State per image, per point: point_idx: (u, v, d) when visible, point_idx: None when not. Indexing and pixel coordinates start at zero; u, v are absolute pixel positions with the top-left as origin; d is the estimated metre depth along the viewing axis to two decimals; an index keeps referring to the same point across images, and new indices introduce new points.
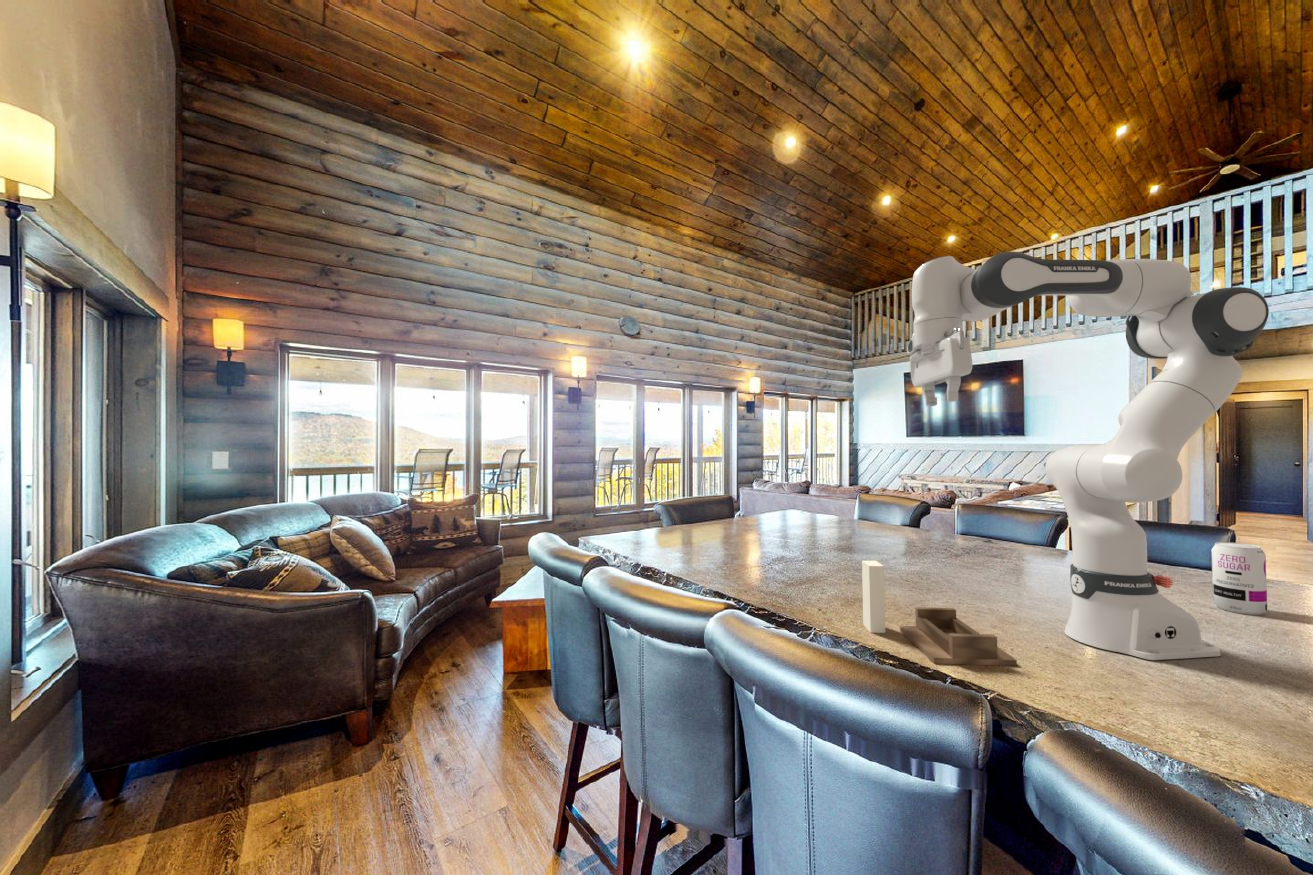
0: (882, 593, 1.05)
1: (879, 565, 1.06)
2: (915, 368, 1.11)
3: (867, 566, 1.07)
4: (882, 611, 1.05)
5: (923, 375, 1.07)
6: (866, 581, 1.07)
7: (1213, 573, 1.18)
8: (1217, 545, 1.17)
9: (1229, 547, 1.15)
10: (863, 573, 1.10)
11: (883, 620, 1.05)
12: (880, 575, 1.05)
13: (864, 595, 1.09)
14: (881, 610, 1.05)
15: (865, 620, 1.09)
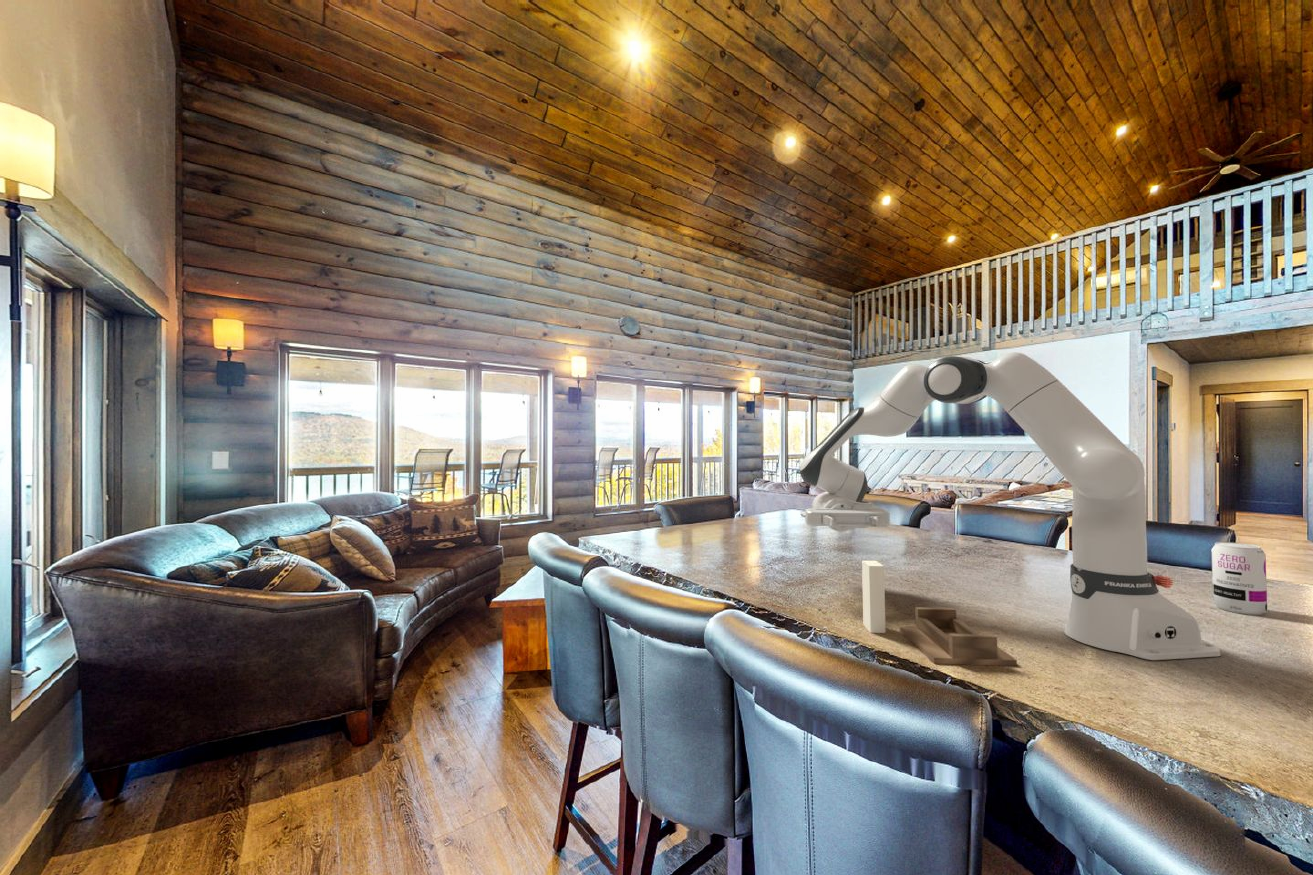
0: (882, 593, 1.05)
1: (879, 565, 1.06)
2: None
3: (867, 566, 1.07)
4: (882, 611, 1.05)
5: None
6: (866, 581, 1.07)
7: (1213, 573, 1.18)
8: (1217, 545, 1.17)
9: (1229, 547, 1.15)
10: (863, 573, 1.10)
11: (883, 620, 1.05)
12: (880, 575, 1.05)
13: (864, 595, 1.09)
14: (881, 610, 1.05)
15: (865, 620, 1.09)
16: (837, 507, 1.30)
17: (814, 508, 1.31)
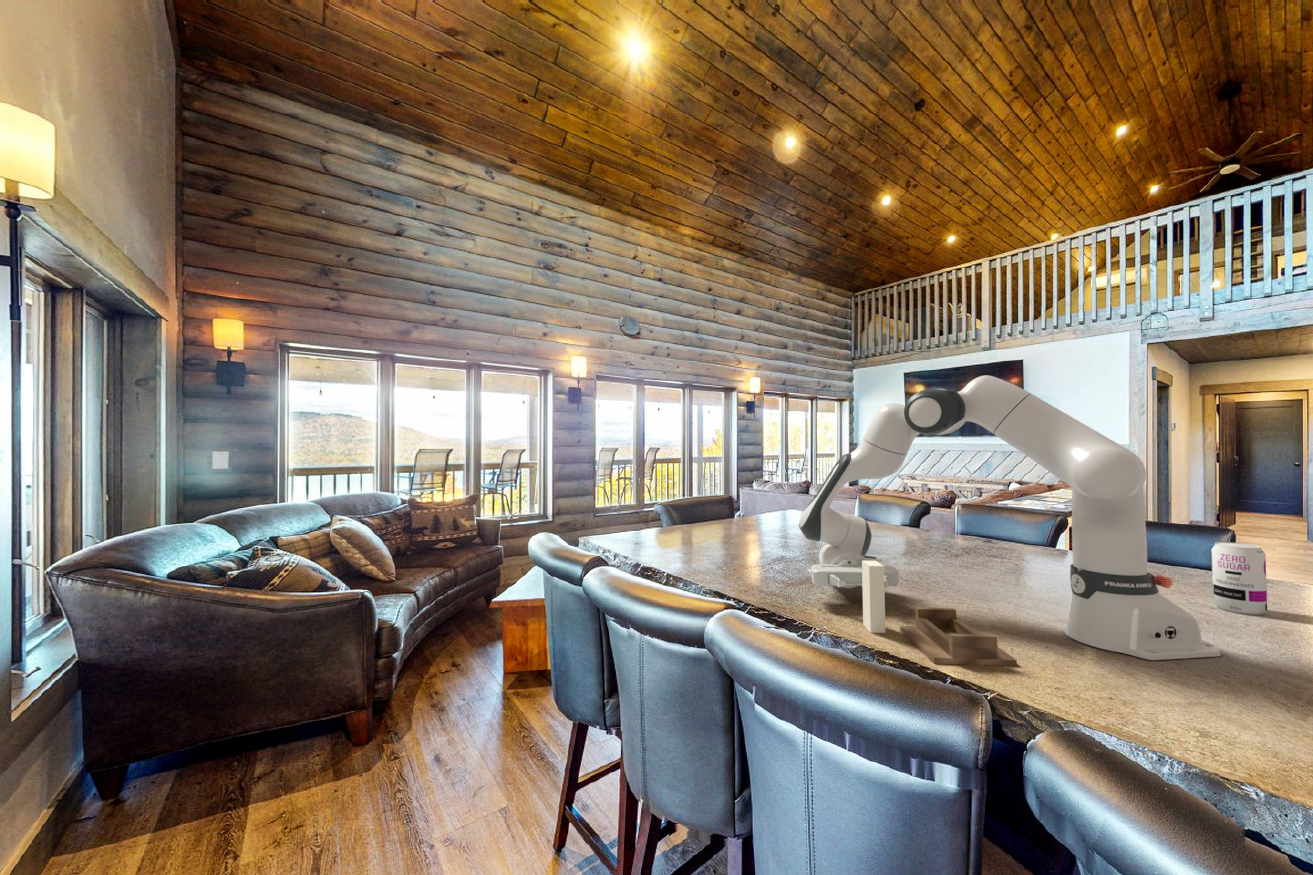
0: (882, 593, 1.05)
1: (879, 565, 1.06)
2: None
3: (867, 566, 1.07)
4: (882, 611, 1.05)
5: None
6: (866, 581, 1.07)
7: (1213, 573, 1.18)
8: (1217, 545, 1.17)
9: (1229, 547, 1.15)
10: (863, 573, 1.10)
11: (883, 620, 1.05)
12: (880, 575, 1.05)
13: (864, 595, 1.09)
14: (881, 610, 1.05)
15: (865, 620, 1.09)
16: (844, 564, 1.26)
17: (820, 565, 1.27)
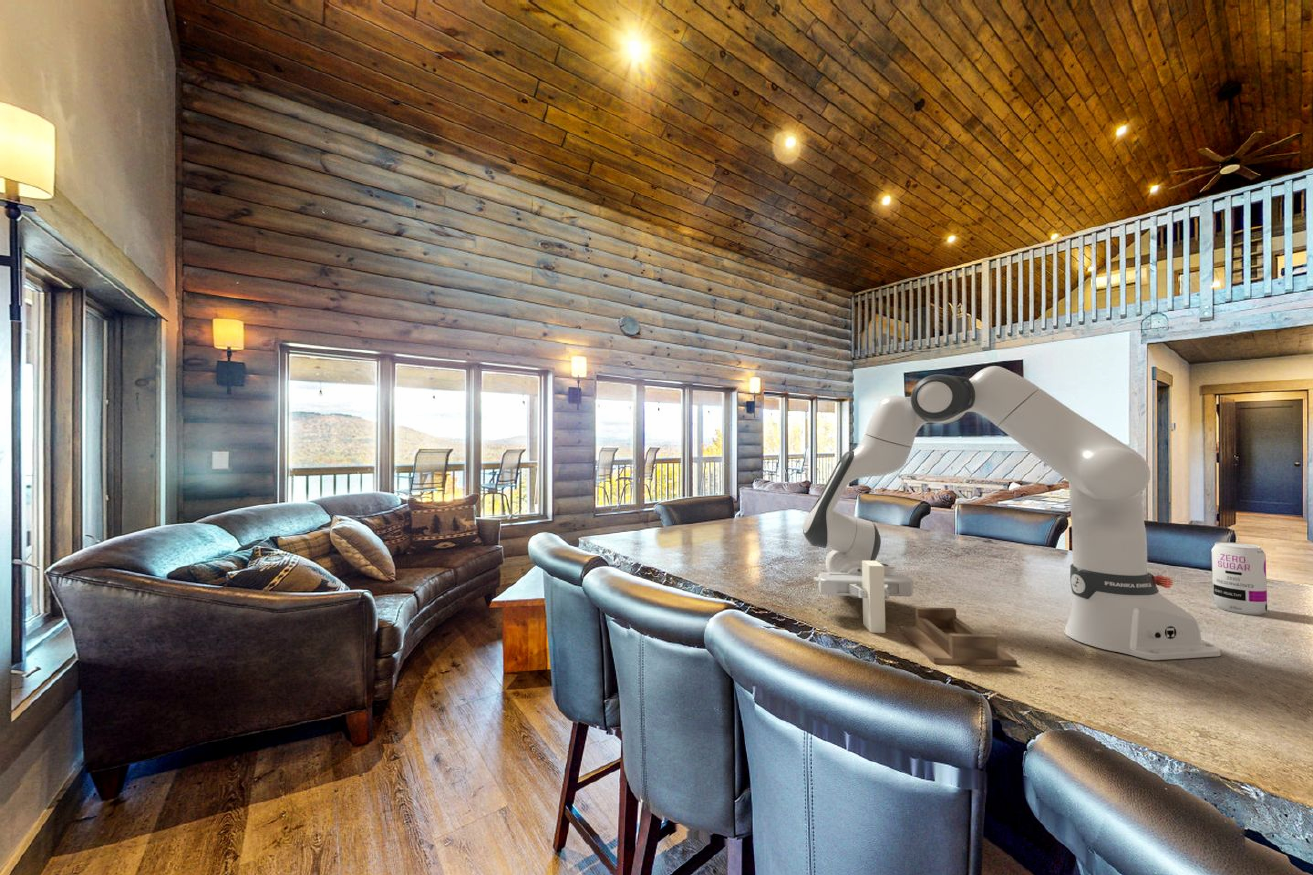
0: (882, 593, 1.05)
1: (879, 565, 1.06)
2: None
3: (867, 566, 1.07)
4: (882, 611, 1.05)
5: None
6: (866, 581, 1.07)
7: (1213, 573, 1.18)
8: (1217, 545, 1.17)
9: (1229, 547, 1.15)
10: (863, 573, 1.10)
11: (883, 620, 1.05)
12: (880, 575, 1.05)
13: None
14: (881, 610, 1.05)
15: (865, 620, 1.09)
16: (854, 571, 1.18)
17: (828, 573, 1.18)
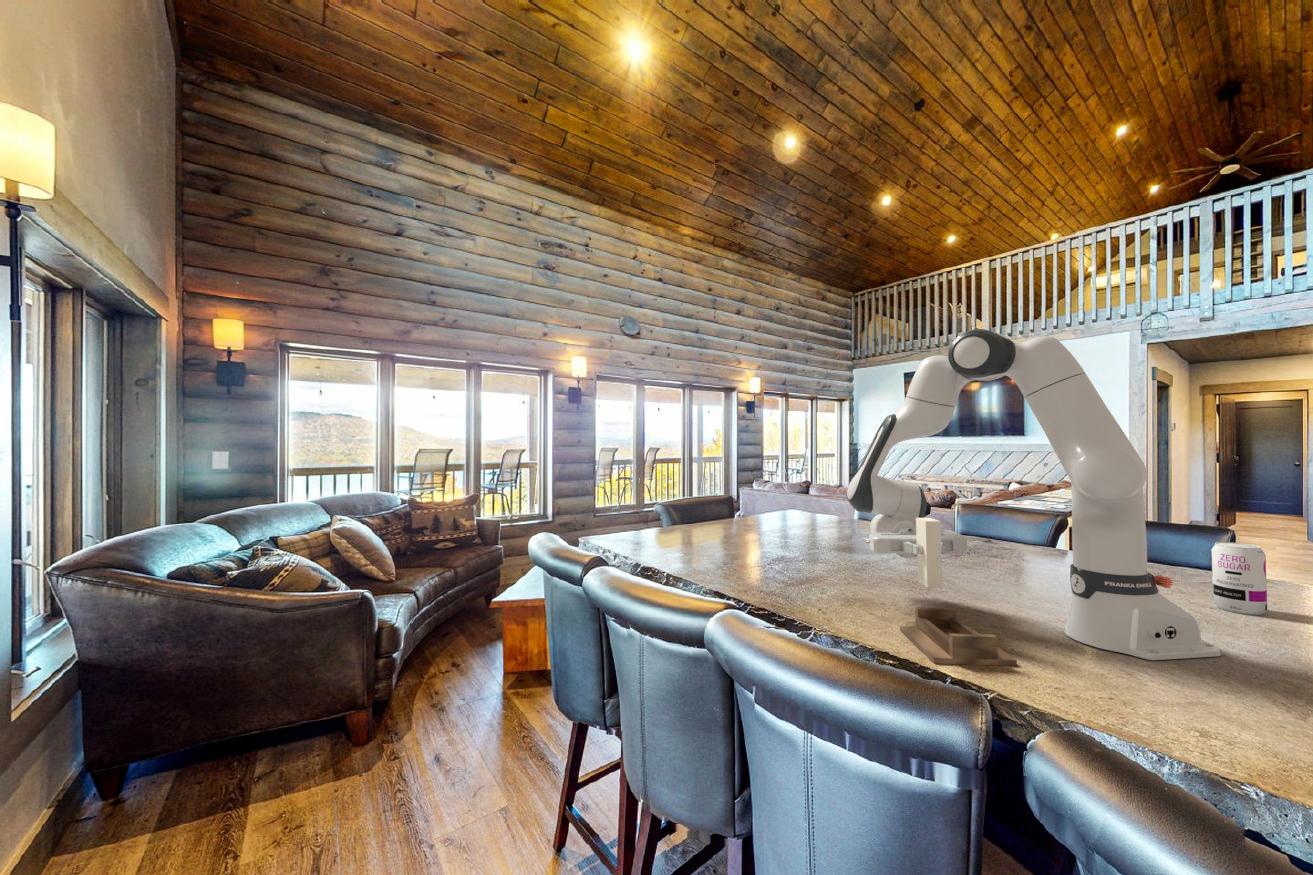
0: (939, 548, 1.06)
1: (935, 520, 1.06)
2: None
3: (923, 522, 1.07)
4: (939, 566, 1.05)
5: None
6: (922, 537, 1.08)
7: (1213, 573, 1.18)
8: (1217, 545, 1.17)
9: (1229, 547, 1.15)
10: (918, 530, 1.10)
11: (940, 575, 1.05)
12: (937, 530, 1.06)
13: None
14: (938, 565, 1.05)
15: (920, 577, 1.09)
16: (905, 531, 1.18)
17: (879, 533, 1.19)
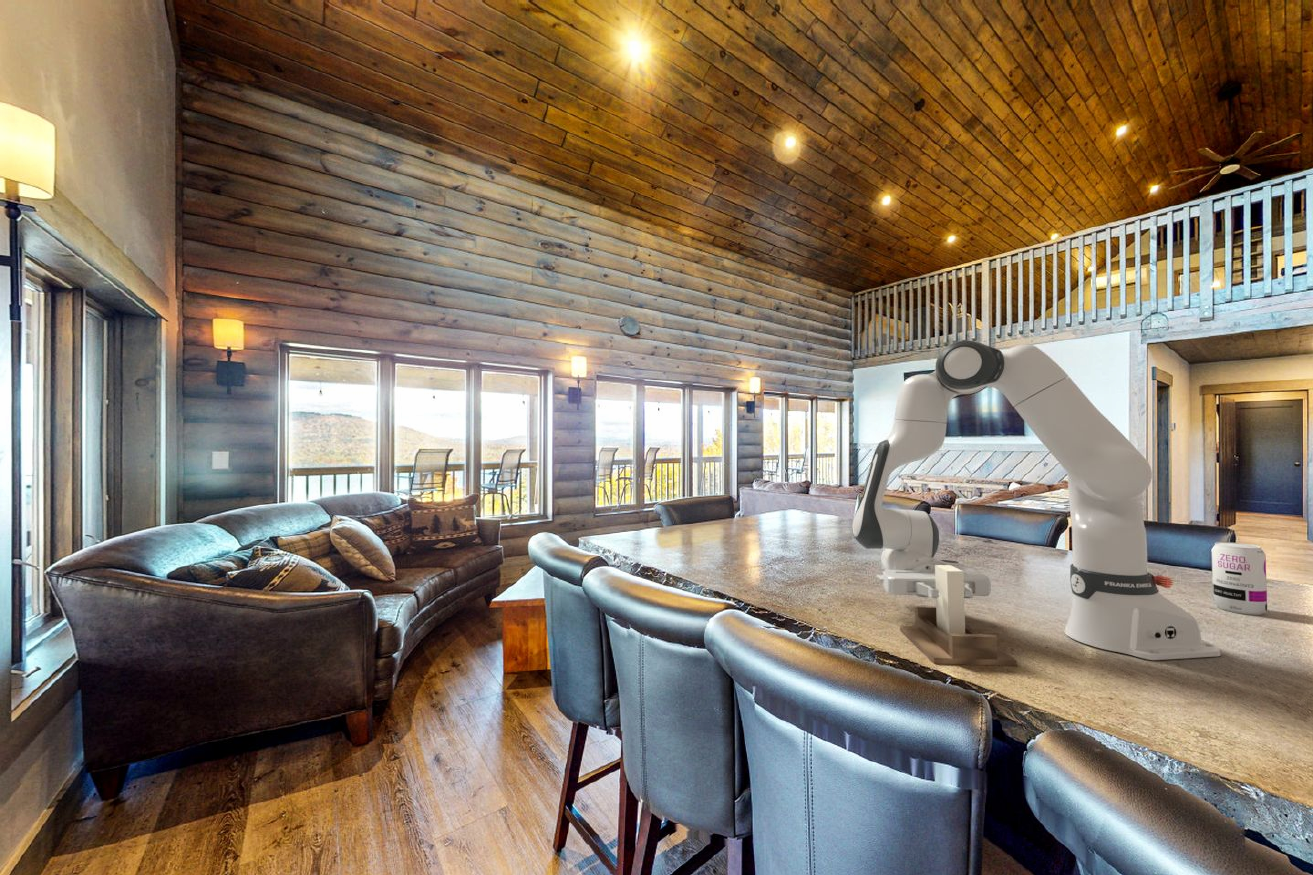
0: (961, 601, 0.96)
1: (957, 570, 0.97)
2: None
3: (944, 571, 0.98)
4: (962, 620, 0.96)
5: None
6: (943, 588, 0.98)
7: (1213, 573, 1.18)
8: (1217, 545, 1.17)
9: (1229, 547, 1.15)
10: (937, 579, 1.00)
11: (963, 630, 0.96)
12: (959, 581, 0.96)
13: (938, 603, 1.00)
14: (961, 620, 0.96)
15: None
16: (921, 569, 1.08)
17: (893, 570, 1.09)
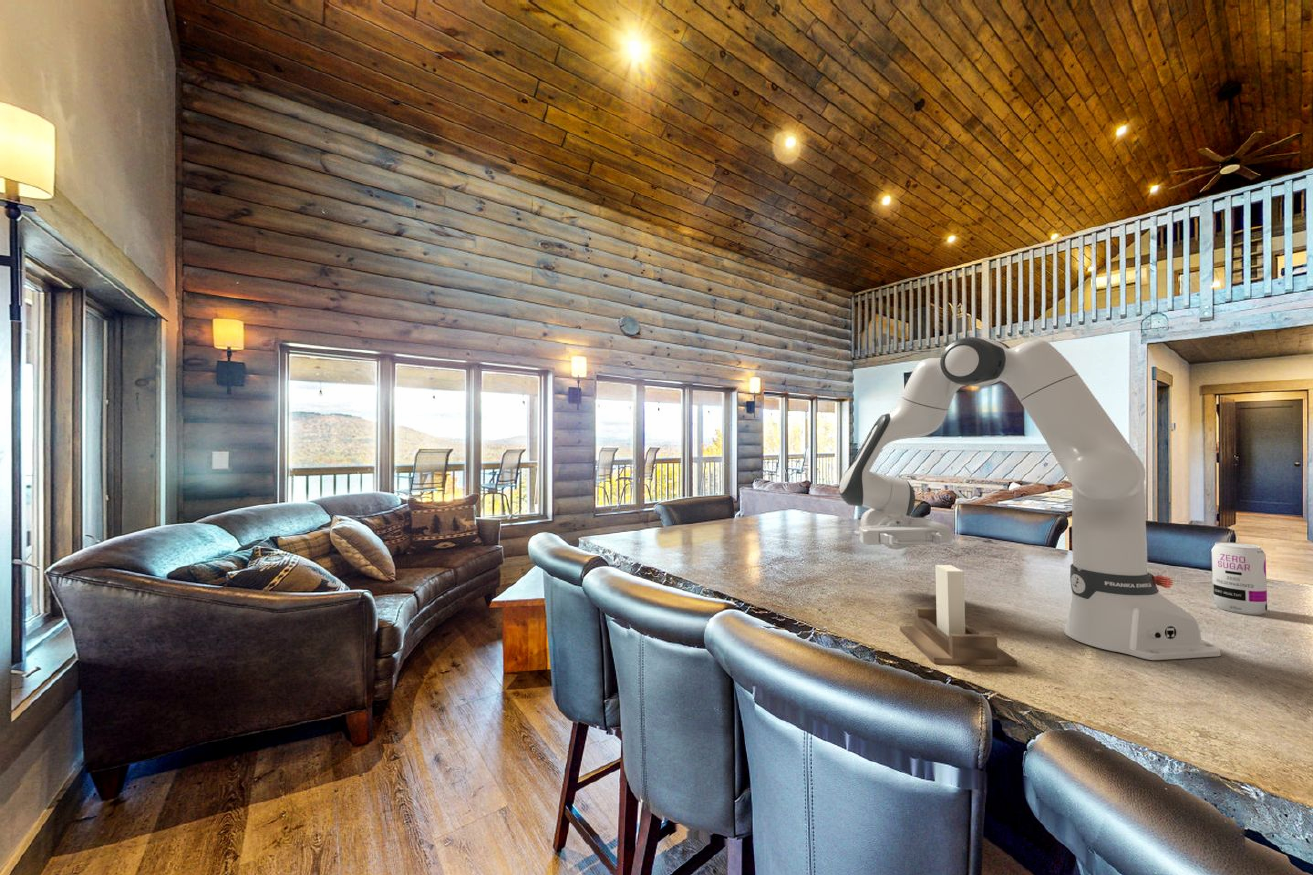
0: (962, 601, 0.96)
1: (958, 570, 0.97)
2: None
3: (944, 571, 0.98)
4: (962, 621, 0.96)
5: None
6: (943, 588, 0.98)
7: (1213, 573, 1.18)
8: (1217, 545, 1.17)
9: (1229, 547, 1.15)
10: (937, 579, 1.00)
11: (963, 630, 0.96)
12: (959, 581, 0.96)
13: (939, 603, 1.00)
14: (961, 620, 0.96)
15: None
16: (893, 524, 1.23)
17: (868, 526, 1.24)
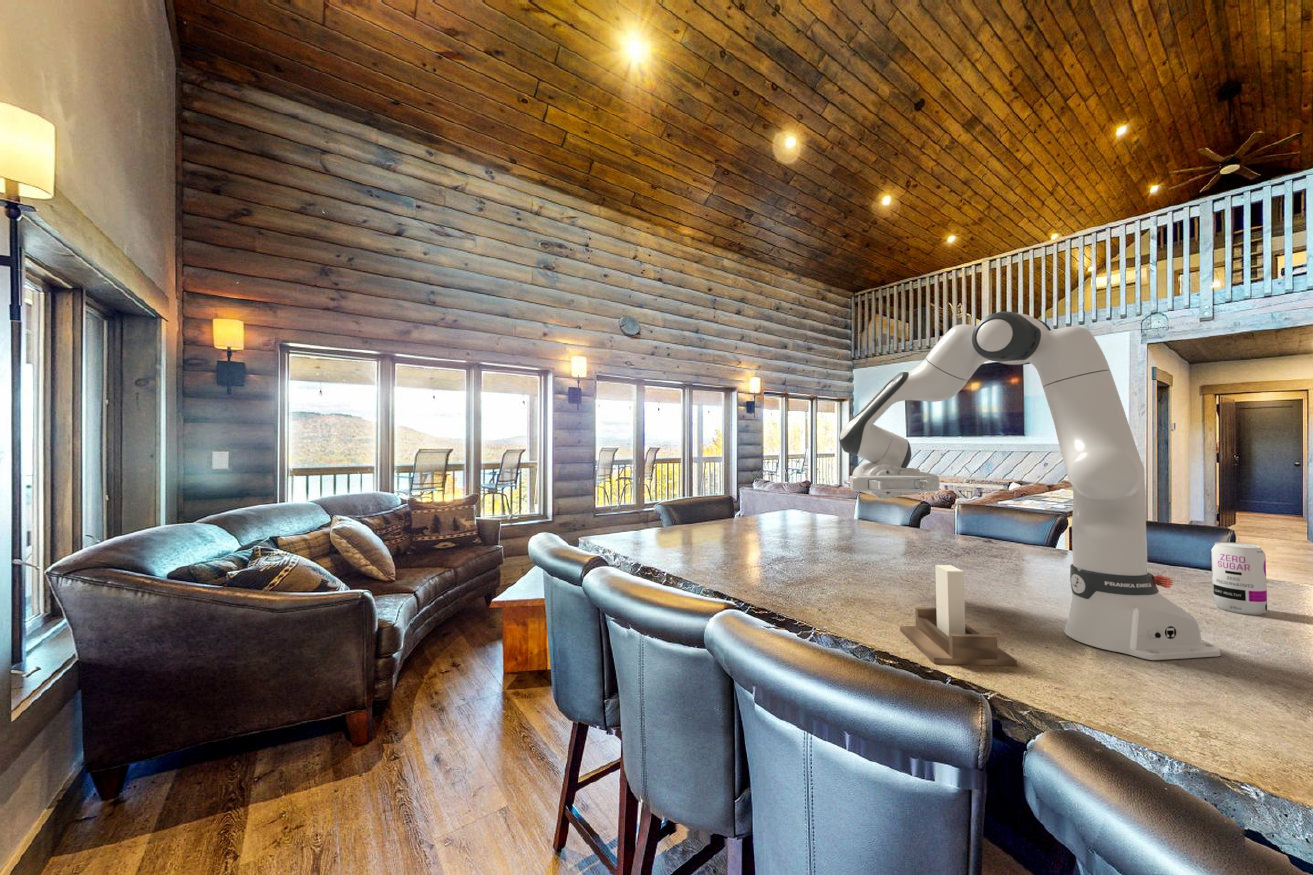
0: (962, 601, 0.96)
1: (958, 570, 0.97)
2: None
3: (944, 571, 0.98)
4: (962, 621, 0.96)
5: None
6: (943, 588, 0.98)
7: (1213, 573, 1.18)
8: (1217, 545, 1.17)
9: (1229, 547, 1.15)
10: (937, 579, 1.00)
11: (963, 630, 0.96)
12: (959, 581, 0.96)
13: (939, 603, 1.00)
14: (961, 620, 0.96)
15: None
16: (882, 473, 1.26)
17: (858, 475, 1.27)
